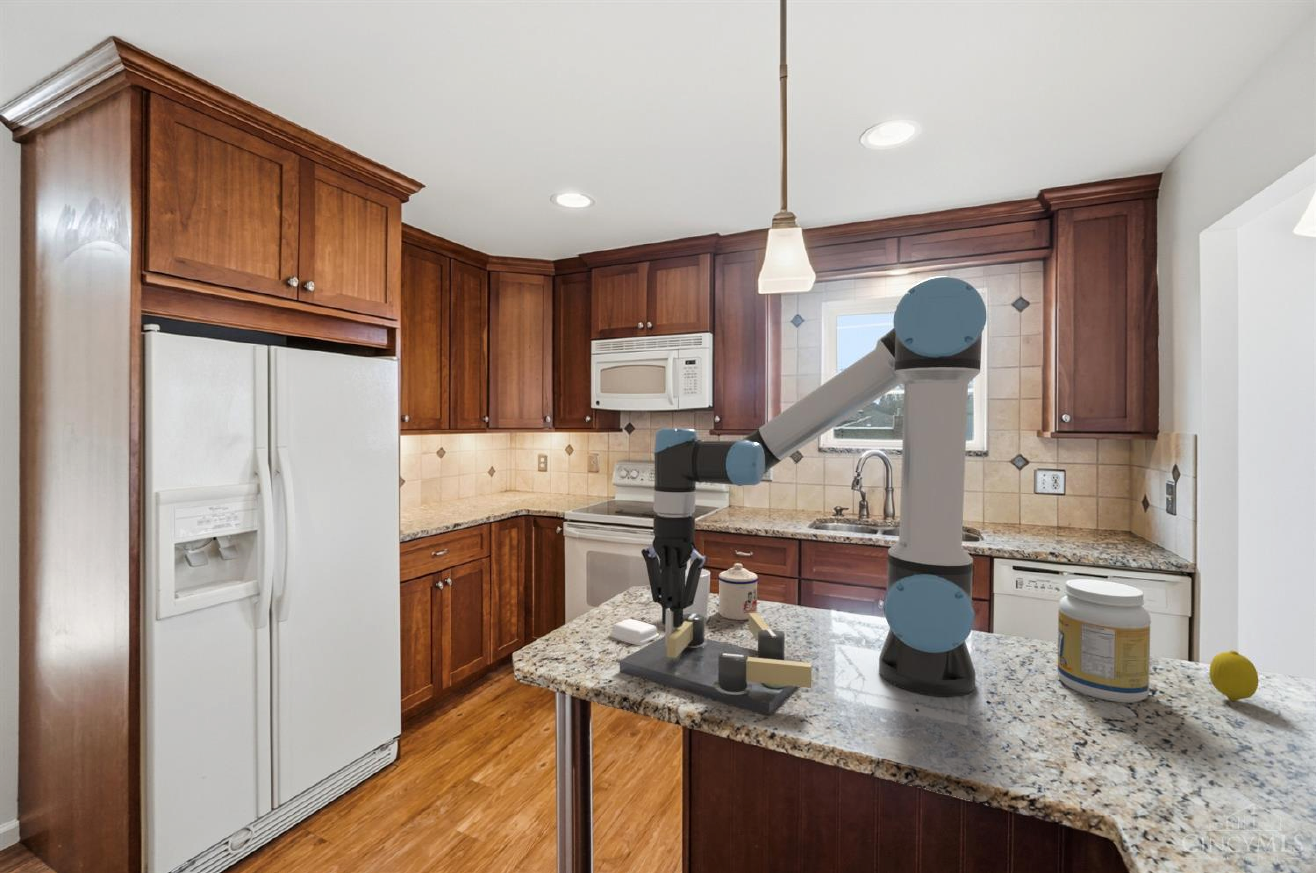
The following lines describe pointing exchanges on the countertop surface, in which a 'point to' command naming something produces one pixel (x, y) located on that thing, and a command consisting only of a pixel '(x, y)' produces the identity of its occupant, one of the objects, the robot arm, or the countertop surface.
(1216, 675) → the lemon
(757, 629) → the knob
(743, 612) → the teacup with lid
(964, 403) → the robot arm
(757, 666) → the knob
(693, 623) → the knob
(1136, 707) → the countertop surface
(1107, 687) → the supplement tub
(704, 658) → the dark grey knob panel
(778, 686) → the green domed button
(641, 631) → the soap
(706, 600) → the white cup
